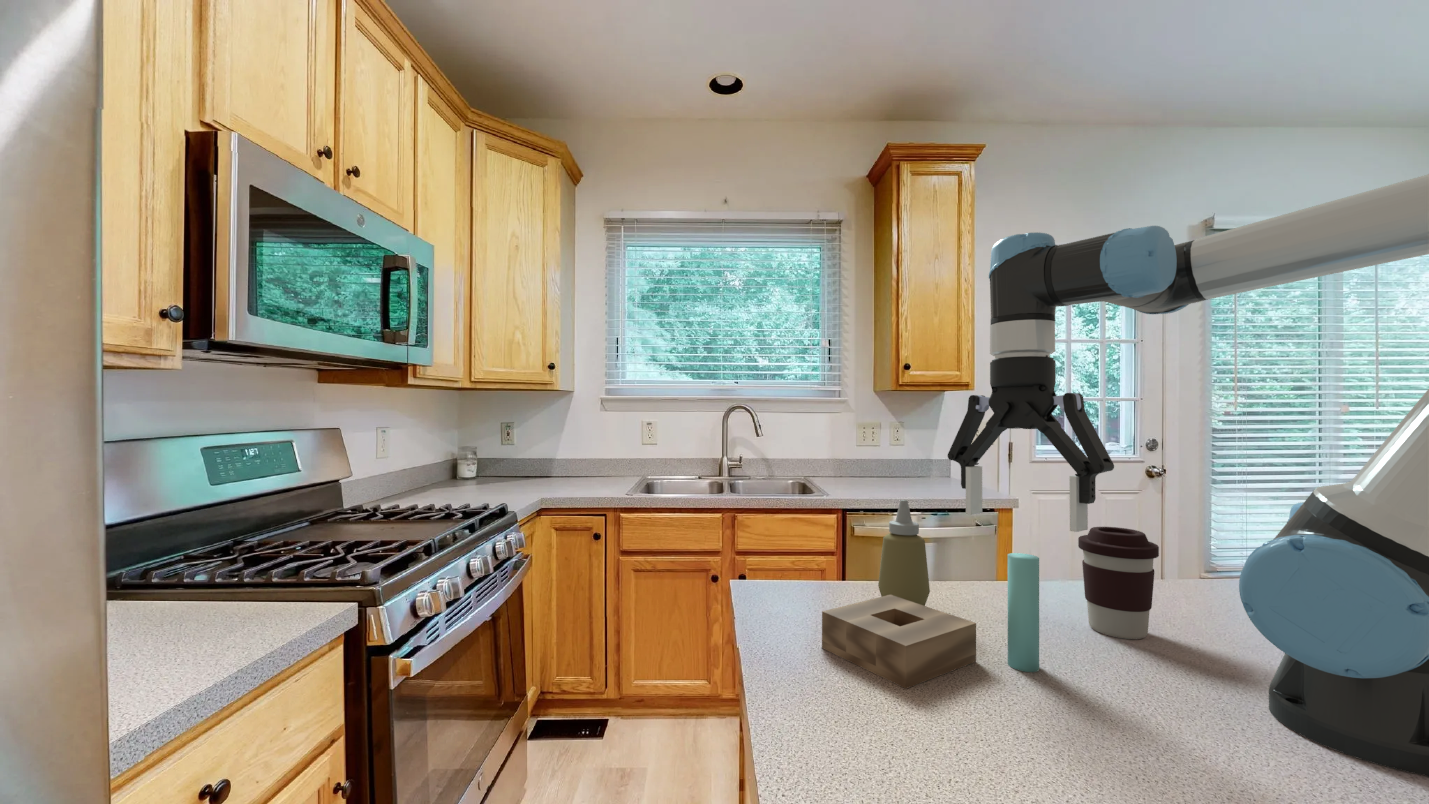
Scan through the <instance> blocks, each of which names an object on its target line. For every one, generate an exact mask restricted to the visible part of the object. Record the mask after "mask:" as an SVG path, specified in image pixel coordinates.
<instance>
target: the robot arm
mask: <svg viewBox="0 0 1429 804" xmlns="http://www.w3.org/2000/svg"><path fill="white" fill-rule="evenodd" d="M1174 242H1175V241H1174V240H1173V237H1171V236H1170V232H1169V231H1168V230H1167V229H1166V228H1165V227H1163V226H1161V225H1148V226H1142V227H1135V228H1124V229H1123V228H1122V229H1121V230H1118V231H1116V232H1112V233H1107V234H1102V235H1098V236H1095V237H1089V238H1085V239H1081V240H1080V239H1079V240H1076V241H1072V242H1069V243H1064V244H1059V245H1057V244H1056V240H1055V238H1054V236H1053V235H1051V234H1049V233H1046V232H1026V233H1021V234H1020V233H1017V234H1012V235H1009V236H1005V237H1003V238H1000V239H999V240H997V241H996V242H995V243H993V246H992V248H991V250H990V263H989V264H990V265H989V268H990V269H989V273H988V279H989V294H990V295H989V297H990V325H989V354H990V355H991V356H993V357H994V359H992V360H991V361H990V362H989V384H990V387H991V395H990V396H989V397H988V396H985V395H979V394H971V395H969V397H968V400H967V401H968V403H967V411H966V413H965V415H964V418H963V419H962V421H961V424H960V427H959V428H958V431H957V433H956V435H955V438H954V440H953V441H952V444H951V446H950V448H949V451H948V452H947V459H948V460H949V461H953V462H956V463H958V464H959V466H960V485H961V486H960V487H961V488H962V489H964V490H965V515H969V516H971V515H977V514H983V466H980V465H979V464H980V463H978V462H979V461H980V460H981V459H982V458H983V456H984V455H985V454H986V452H987V451H989V449H990V448H991V447H992V445H993V444H994V443H995V442H996V440H997V439H998V438H999V437H1000V436H1001V434H1003V432H1005V431H1006V430H1008V429H1010V430H1011V429H1013V430H1014V429H1016V430H1017V429H1020V430H1021V429H1023V430H1037V431H1038V432H1041V433H1042V434H1043V435H1044V436H1045V438H1047V439H1048V441H1049V442H1050V443H1051V444H1052V446H1054V448H1055V449H1056V450H1057V451H1058V452H1059V454H1060V455H1061V457H1063V458H1064V460H1065V461H1066V462H1067V464H1068V465H1069V466H1070V467H1071V468H1072V469H1073V471H1074V472H1075V474H1074V475H1069V532H1074V533H1079V532H1083V531H1087V530H1088V529H1089V527H1088V524H1089V521H1088V520H1089V519H1088V516H1089V515H1088V514H1089V513H1088V512H1089V511H1088V510H1089V509H1088V505H1090V504H1094V503H1095V501H1096V478H1097V476H1099V474H1103V473H1107V472H1112V471H1113V470H1114V469H1115V465H1114V462H1113V460H1112V458H1111V457H1110V455H1109V453H1108V451H1107V449H1106V447H1105V446H1104V444H1103V442H1102V440H1101V437H1100V436H1099V435H1098V432H1097V431H1096V429H1095V428H1094V426H1093V423H1092V421H1091V419H1090V418H1089V416H1088V414H1087V412H1086V409H1085V402H1084V401H1085V399H1084V396H1083V395H1082V393H1079V392H1078V393H1077V392H1066V393H1064V394H1063V395H1057V394H1056V391H1055V388H1056V386H1055V385H1056V381H1057V380H1056V377H1057V375H1056V359H1054V357H1051V355H1052V354H1054V353H1055V352H1056V309H1057V308H1058V307H1068V306H1069V307H1070V306H1072V305H1073V306H1074V305H1081V304H1088V303H1089V304H1090V303H1100V302H1104V303H1108V304H1111V305H1117V306H1119V307H1124V308H1129V309H1131V310H1134V311H1137V312H1139V313H1142V314H1146V315H1167V314H1172V313H1175V312H1179V311H1181V310H1183V309H1184V308H1186V307H1187V306H1189V305H1191V304H1196V303H1199V302H1203V301H1209V300H1211V299H1212V300H1213V299H1216V298H1217V299H1218V298H1221V297H1226V296H1231V295H1236V294H1240V293H1245V292H1251V291H1255V290H1261V289H1265V288H1270V287H1274V286H1276V287H1277V286H1279V285H1280V286H1281V285H1285V284H1289V283H1295V282H1300V281H1304V280H1310V279H1314V278H1319V277H1324V276H1328V275H1329V276H1330V275H1333V274H1334V275H1335V274H1339V273H1343V272H1348V271H1349V272H1350V271H1352V270H1354V271H1355V270H1357V269H1362V268H1367V267H1373V266H1377V265H1378V266H1379V265H1383V264H1387V263H1392V262H1396V261H1397V262H1398V261H1401V260H1406V259H1411V258H1416V257H1422V256H1426V255H1429V173H1428V174H1423V175H1420V176H1417V177H1414V178H1410V179H1406V180H1404V181H1403V180H1402V181H1399V182H1396V183H1393V184H1392V183H1391V184H1388V185H1385V186H1381V187H1378V188H1373V189H1371V190H1367V191H1364V192H1360V193H1357V194H1356V193H1355V194H1353V195H1349V196H1346V197H1342V198H1339V199H1334V200H1331V201H1328V202H1324V203H1320V204H1317V205H1314V206H1310V207H1305V208H1303V209H1299V210H1295V211H1291V212H1287V213H1285V214H1282V215H1277V216H1274V217H1270V218H1267V219H1263V220H1260V221H1255V222H1253V223H1249V224H1246V225H1245V224H1244V225H1242V226H1238V227H1234V228H1230V229H1228V230H1224V231H1220V232H1216V233H1213V234H1209V235H1206V236H1201V237H1198V238H1195V239H1193V240H1189V241H1186V242H1181V243H1178V244H1175V243H1174ZM1057 407H1059V409H1060V411H1061V412H1063V413H1065V417H1066V419H1067V421H1068V423H1069V424H1070V427H1071V429H1072V431H1073V433H1074V434H1075V437H1076V438H1077V440H1078V442H1079V443H1080V445H1081V447H1082V449H1081V448H1080V447H1079V446H1078V445H1077V443H1076V442H1075V441H1074V440H1073V438H1071V437H1070V436H1069V434H1068V433H1067V432H1066V431H1065V429H1064V428H1063V427H1062V424H1061V423H1060V422H1059V421H1058V419H1056V417H1055V416H1054V415H1053V413H1054V412H1055V410H1056V409H1057ZM989 409H991V410H992V412H993V414H992V415H991V416H990V417H989V419H988V420H987V421H986V423H985V427H984V428H983V429H982V430H981V431H980V433H979V434H978V435H977V437H976V434H977V433H978V430H979V429H980V427H981V424H982V421H983V420H984V417H985V414H986V412H987V411H988V410H989ZM975 437H976V438H975ZM1082 450H1083V451H1082ZM1289 510H1290V511H1289V517H1288V519H1287V522H1286V524H1285V525H1284V526H1283V528H1281V530H1280V531H1279V532H1278V533H1277V534H1276V535H1275V537H1274V538H1273V539H1271V540H1268V541H1267V542H1264V543H1263V544H1262V545H1261V546H1258V547H1256V548H1255V549H1254V550H1253V551H1252V552H1251V553H1250V554H1249V555H1248V557H1247V558H1246V561H1245V562H1244V566H1243V567H1242V569H1241V572H1240V574H1239V580H1238V590H1239V591H1238V592H1239V596H1240V600H1241V603H1242V605H1243V606H1242V607H1243V609H1244V611H1245V613H1246V615H1247V617H1248V618H1249V620H1250V621H1251V623H1252V624H1253V626H1254V627H1255V628H1256V629H1257V630H1258V632H1259V633H1260V634H1261V635H1262V636H1263V637H1265V638H1266V639H1265V640H1267V641H1269V642H1270V643H1271V644H1272V645H1273V646H1274V647H1276V648H1277V649H1278V650H1279V651H1281V652H1283V657H1282V658H1281V660H1280V663H1279V665H1278V667H1277V669H1276V671H1275V673H1274V675H1273V678H1272V679H1271V682H1270V684H1269V686H1268V687H1269V688H1268V710H1269V712H1270V713H1271V715H1272V716H1273V717H1274V718H1275V719H1276V720H1277V721H1279V722H1280V724H1283V725H1284V726H1285V727H1287V728H1288V729H1290V730H1291V731H1293V732H1295V733H1297V734H1299V735H1301V736H1303V737H1305V738H1307V739H1309V740H1311V741H1312V742H1315V743H1318V744H1319V745H1322V746H1325V747H1327V748H1329V749H1332V750H1335V751H1337V752H1340V753H1343V754H1345V755H1348V756H1350V757H1354V758H1356V759H1359V760H1363V761H1366V762H1369V763H1373V764H1376V765H1379V766H1383V767H1386V768H1387V767H1388V768H1391V769H1394V770H1398V771H1403V772H1406V773H1412V774H1417V775H1420V776H1421V775H1423V776H1429V388H1428V389H1427V390H1426V391H1425V393H1423V395H1422V396H1421V398H1419V400H1418V401H1417V402H1416V403H1415V404H1414V406H1412V408H1411V409H1410V410H1409V411H1408V413H1407V414H1406V415H1405V416H1404V417H1403V419H1402V420H1401V421H1400V422H1399V423H1398V425H1397V426H1396V427H1395V428H1394V430H1393V431H1392V432H1391V433H1390V434H1389V436H1388V437H1387V438H1386V439H1385V440H1384V442H1382V444H1380V446H1379V447H1378V448H1377V450H1375V452H1374V453H1373V455H1372V456H1371V457H1370V458H1369V459H1368V460H1367V462H1366V463H1365V464H1364V465H1363V467H1361V469H1360V470H1359V471H1358V472H1357V474H1356V475H1354V477H1353V478H1352V479H1351V480H1349V481H1348V482H1345V483H1336V484H1331V485H1325V486H1318V487H1316V488H1315V489H1314V490H1313V491H1312V492H1311V493H1310V494H1309V496H1308V497H1307V498H1306V500H1305V501H1304V502H1298V503H1297V502H1296V503H1294V504H1293V505H1292V506H1291V508H1290V509H1289Z"/></svg>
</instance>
